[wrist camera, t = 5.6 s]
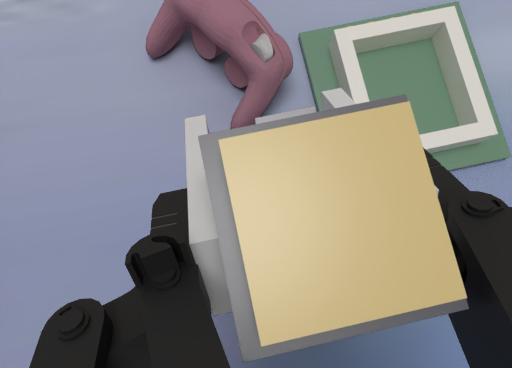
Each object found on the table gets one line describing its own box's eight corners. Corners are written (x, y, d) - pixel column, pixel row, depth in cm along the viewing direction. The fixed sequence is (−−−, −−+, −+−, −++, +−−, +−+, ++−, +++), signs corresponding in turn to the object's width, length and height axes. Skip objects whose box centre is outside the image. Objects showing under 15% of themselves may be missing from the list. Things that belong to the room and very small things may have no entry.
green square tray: (338, 194, 26) (348, 188, 23) (298, 37, 28) (302, 16, 25) (505, 158, 26) (532, 148, 24) (454, 6, 28) (473, -18, 26)
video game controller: (275, 113, 29) (316, 41, 23) (237, 144, 26) (272, 71, 20) (183, 32, 30) (200, -57, 24) (138, 53, 27) (144, -41, 21)
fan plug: (244, 294, 17) (242, 377, 6) (221, 181, 18) (183, 82, 7) (340, 272, 17) (496, 316, 6) (313, 162, 18) (412, 38, 7)
